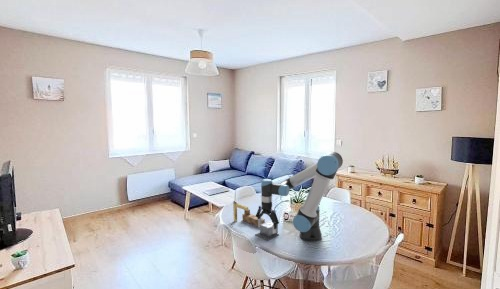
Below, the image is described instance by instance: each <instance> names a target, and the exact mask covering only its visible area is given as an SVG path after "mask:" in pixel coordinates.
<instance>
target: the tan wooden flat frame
mask: <svg viewBox="0 0 500 289" xmlns="http://www.w3.org/2000/svg"><path fill="white" fill-rule="evenodd" d="M237 202H238V201H237V200H233V202H232V205H233V222H237V221H238V209H240V210H243V211H244V210H246V211H248V209H249V206H246V205H243V204H241V203H237Z"/></svg>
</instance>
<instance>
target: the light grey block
mask: <svg viewBox="0 0 500 289" xmlns="http://www.w3.org/2000/svg"><path fill="white" fill-rule="evenodd" d="M259 233H260V234H261V235H263V236H266V237H268V238H269V237H271V236H273V235H275V234H279V224H277V228H276V233H274V234H273V222H272V220H267V221H266V222H265V223H263V224H261V225H260V228H259Z"/></svg>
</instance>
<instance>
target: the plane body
mask: <svg viewBox="0 0 500 289" xmlns="http://www.w3.org/2000/svg"><path fill="white" fill-rule="evenodd" d="M243 212H244V213H243V214H242V216H241V217H242V221H244V222H246V223H248V224H250V225H253V226H255V227H258V218H257V217H256V215H254V214H251V209H249V208H248V211H246V210H243ZM265 221H266V220H265V219H264V218H262V224H263V223H265Z"/></svg>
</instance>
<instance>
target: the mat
mask: <svg viewBox="0 0 500 289" xmlns="http://www.w3.org/2000/svg"><path fill="white" fill-rule="evenodd" d="M254 235H255V236H256V237H258V238H260V239H263V240H265V241H270V240H271V239H274V238H276V237H277V236H279V233H277V234H275V235H273V236H271V237H269V238H268V237H266V236H263V235H261V234H260V232H258V233H255V234H254Z"/></svg>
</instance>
